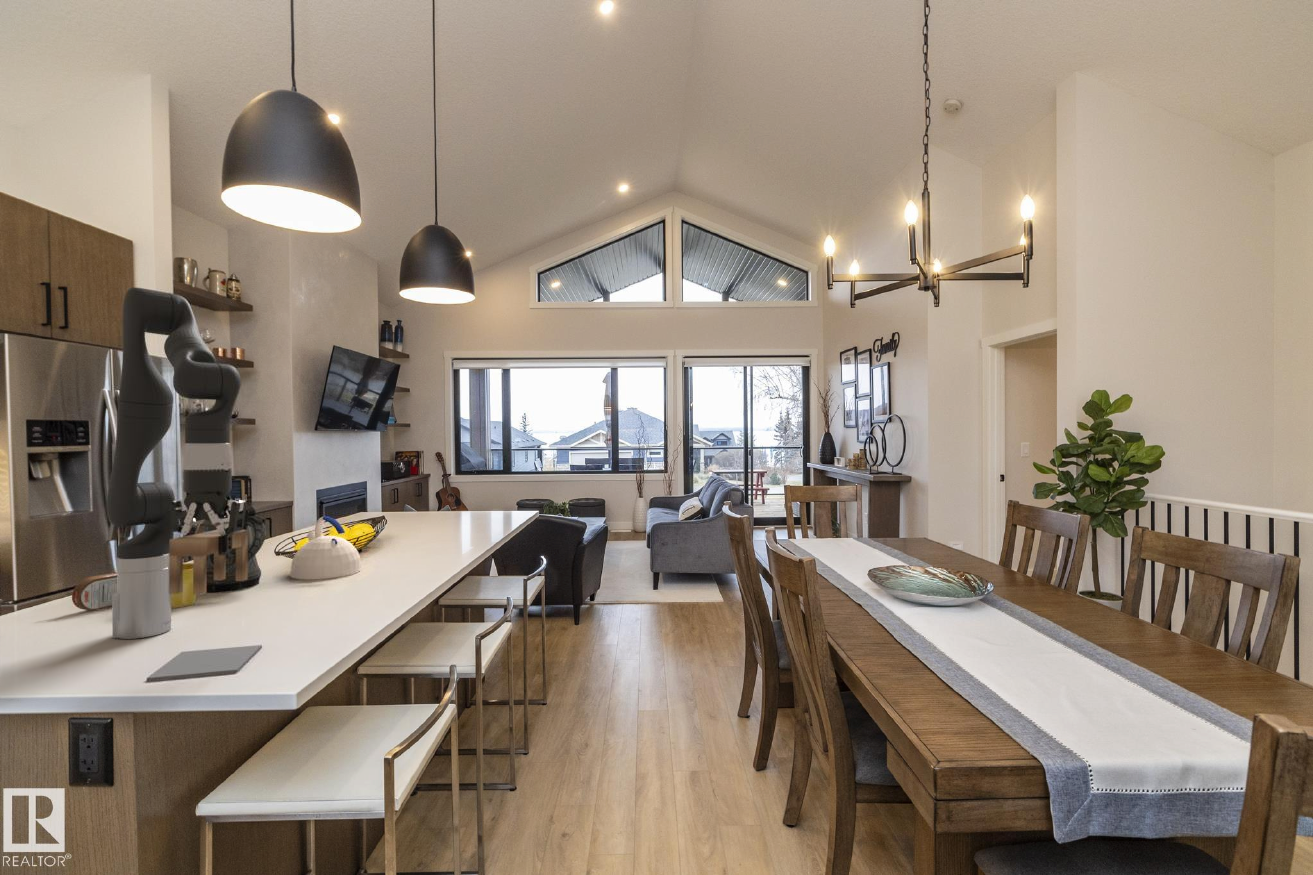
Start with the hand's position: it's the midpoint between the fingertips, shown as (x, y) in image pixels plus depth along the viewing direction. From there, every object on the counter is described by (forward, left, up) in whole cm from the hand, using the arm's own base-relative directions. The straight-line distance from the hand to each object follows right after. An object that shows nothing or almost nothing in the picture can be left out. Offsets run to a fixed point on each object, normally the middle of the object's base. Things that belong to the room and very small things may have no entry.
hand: (208, 554), depth 119 cm
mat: (0, 0, -21) cm, 21 cm away
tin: (-40, +53, -21) cm, 70 cm away
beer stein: (-18, +69, -21) cm, 75 cm away
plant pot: (-24, +50, -21) cm, 60 cm away
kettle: (+4, +81, -21) cm, 84 cm away
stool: (+2, +6, -1) cm, 7 cm away
